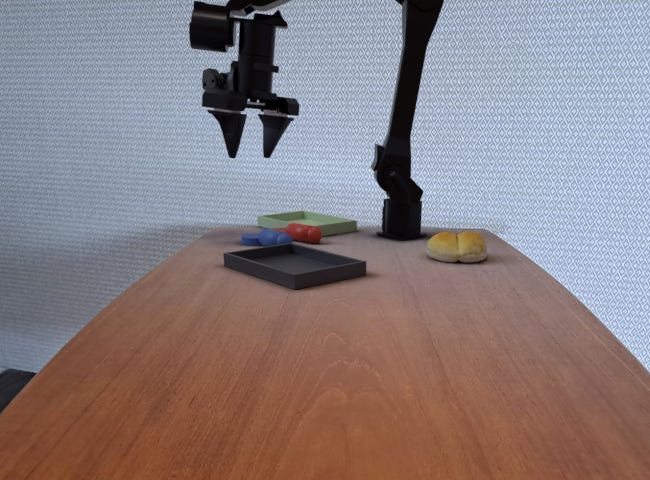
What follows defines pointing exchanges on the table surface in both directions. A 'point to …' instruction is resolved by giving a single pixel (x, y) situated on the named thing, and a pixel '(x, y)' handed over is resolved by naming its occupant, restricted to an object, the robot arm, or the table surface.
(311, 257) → the front tray
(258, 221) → the back tray
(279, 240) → the blue elongated piece
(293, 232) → the red elongated piece
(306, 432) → the table surface
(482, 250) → the bread roll
